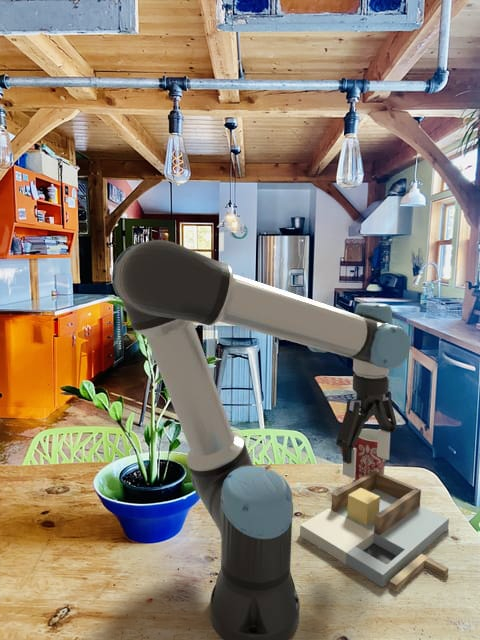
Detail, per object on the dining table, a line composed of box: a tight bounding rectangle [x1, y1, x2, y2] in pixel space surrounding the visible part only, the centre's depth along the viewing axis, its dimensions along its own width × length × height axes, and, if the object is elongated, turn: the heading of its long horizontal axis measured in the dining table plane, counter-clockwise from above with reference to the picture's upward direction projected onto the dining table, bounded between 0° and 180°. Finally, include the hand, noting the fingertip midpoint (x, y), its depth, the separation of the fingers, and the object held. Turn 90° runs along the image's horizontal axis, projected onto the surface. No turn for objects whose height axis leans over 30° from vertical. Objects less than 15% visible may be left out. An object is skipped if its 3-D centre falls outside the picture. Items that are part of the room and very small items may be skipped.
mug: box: [340, 428, 386, 481], centre depth 118 cm, size 13×9×14 cm
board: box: [299, 489, 450, 588], centre depth 95 cm, size 28×20×2 cm
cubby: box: [330, 471, 422, 535], centre depth 100 cm, size 18×12×4 cm
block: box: [347, 488, 380, 526], centre depth 97 cm, size 5×5×5 cm
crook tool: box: [388, 553, 449, 593], centre depth 81 cm, size 12×5×1 cm, turn 130°
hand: (366, 466), depth 96 cm, fingers open, 13 cm apart
